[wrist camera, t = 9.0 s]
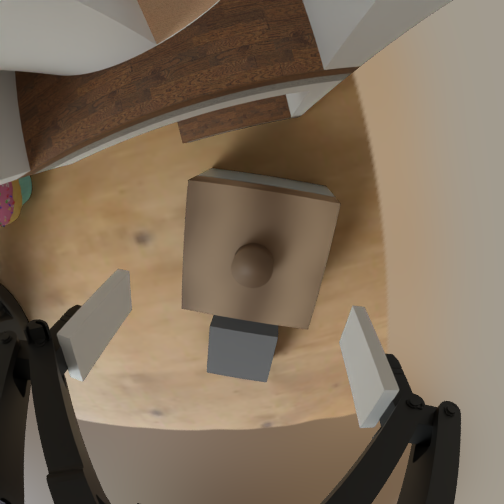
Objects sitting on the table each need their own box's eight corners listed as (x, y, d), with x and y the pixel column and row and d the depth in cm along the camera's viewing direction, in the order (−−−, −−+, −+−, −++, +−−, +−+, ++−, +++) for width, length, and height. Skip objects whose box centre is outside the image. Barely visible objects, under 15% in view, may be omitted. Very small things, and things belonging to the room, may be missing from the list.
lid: (188, 294, 27) (176, 317, 24) (196, 175, 23) (182, 183, 19) (306, 313, 27) (309, 339, 23) (334, 196, 23) (344, 208, 19)
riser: (213, 350, 36) (206, 372, 32) (217, 305, 33) (209, 326, 30) (268, 359, 36) (266, 382, 32) (278, 315, 33) (277, 337, 29)
